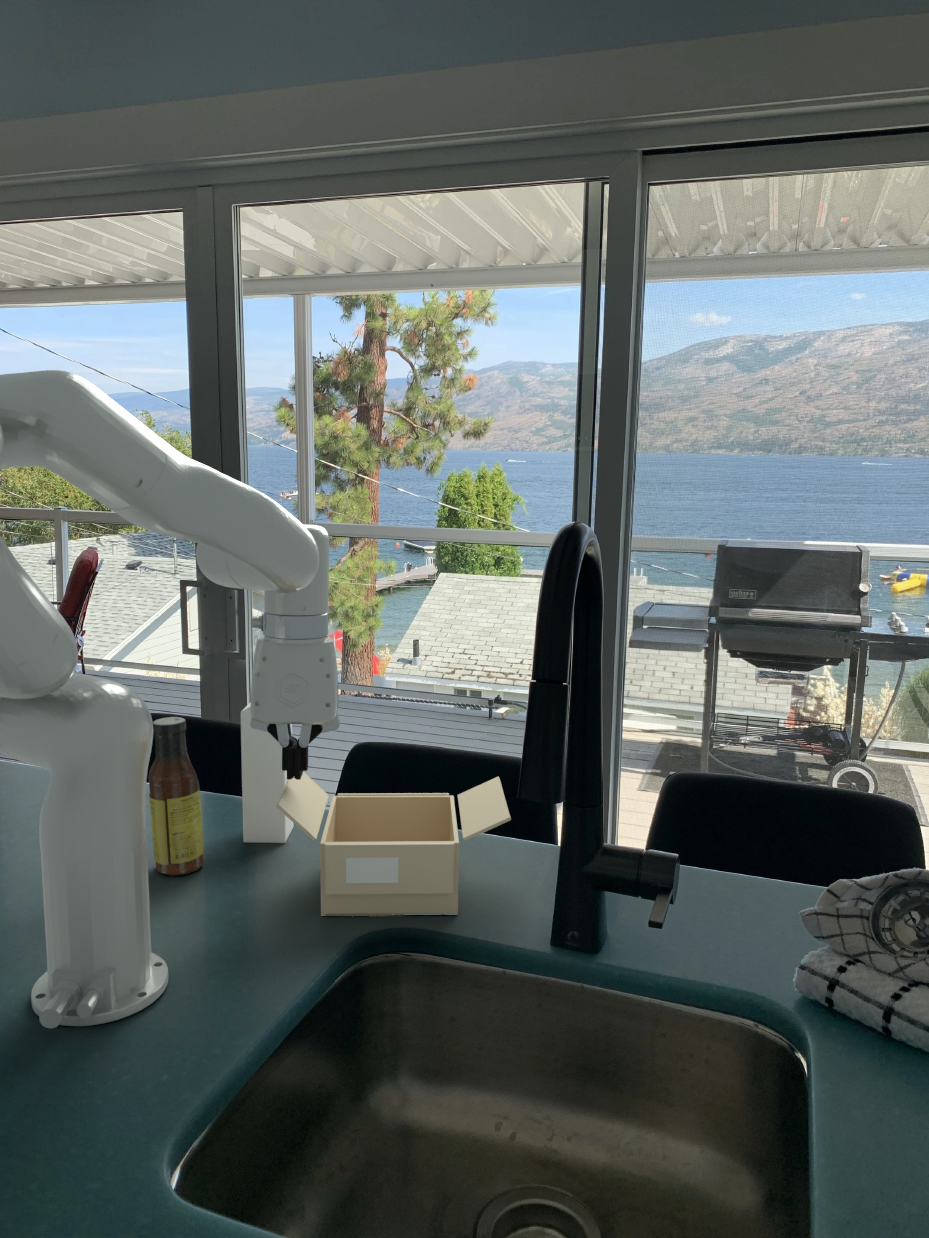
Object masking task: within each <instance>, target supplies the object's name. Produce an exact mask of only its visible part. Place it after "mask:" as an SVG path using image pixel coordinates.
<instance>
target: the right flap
mask: <svg viewBox="0 0 929 1238" xmlns="http://www.w3.org/2000/svg"><path fill="white" fill-rule="evenodd" d="M504 793H505V792H504V789H503V786H502V782H501V778H500V777H499V776H496V777H494V778H492V779H490V780H487V781H485V782H483V783H481V784H479V785H476V786H474V787H472V788H470V789H467V790H466V791H463V792H461V793H459V794H457V802H458V808H459V816H460V818H459V819H460V825H461V826H460V827H461V832H462V839H463V841H464V842H466V841H468V840H470V839H472V838H473V839H474V837H477V836H479V835H481V834H483V833H486V832H488V831H490V830H492V829H495V828H498V826H499V827H500V826H501V825H503V824H505V823H508V822H510V821H511V820H512V817H511V814H510V811H509V807H508V804H507V800H506V797H505V794H504Z"/></svg>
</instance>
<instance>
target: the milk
mask: <svg viewBox="0 0 929 1238" xmlns="http://www.w3.org/2000/svg"><path fill="white" fill-rule="evenodd" d="M251 718H252V716H251V701H250V702H249V703H248V704H247V705H246V706H245V707H244V708H243V709H242V710H241V711H240V746H241V747H240V748H241V750H240V753H241V788H242V789H241V791H242V793H241V795H242V797H241V799H242V800H241V801H242V834H243V835H242V838H243V843H251V844H252V843H253V844H254V843H256V844H257V843H259V844H263V843H264V844H267V843H268V844H270V843H271V844H286V843H287V841H288V839H289V837H290V834H291V833H292V831H293V829H294V823H293V822H292V821H291V820H290V819H289V818H288V817H287V816H286V815H284V814H283V813H282V812H281V811H280V810H279V809H278V808H277V807H276V806H277V804H278V801H279V799H280V797H281V794H282V792H283V790H284V788H285V785H286V783H287V781H288V779H287V771H282V747H281V746H280V745H279V742H278V741H277V740H276V739H275V738H274V737H273V736H272V735H271V734H270V733H269V732H266V731H261V730H257V729H253V728H251V726H250V722H251ZM290 726H291V733H292V734H293V724H290Z"/></svg>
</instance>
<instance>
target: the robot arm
mask: <svg viewBox="0 0 929 1238" xmlns="http://www.w3.org/2000/svg"><path fill="white" fill-rule="evenodd" d="M13 467H14V468H15V467H42V468H45V469H46V470H49V471H51V472H53V473H55V474H56V475H58V476H59V477H60V478H62V479H64V480H65V481H67V482H68V483H69V484H71V485H73V486H74V487H76V488H77V489H79V490H80V491H82V492H84V494H86V495H88V496H90V497H91V498H93V499H94V500H96V501H97V502H99V504H102V505H103V506H104V507H106V508H108V509H109V510H110V511H112V512H113V513H115V514H117V515H118V516H119V517H121V518H122V519H124V520H125V521H127V522H128V523H130V524H132V525H135V526H137V527H140V528H142V529H145V530H147V531H151V532H153V533H156V534H159V535H162V536H165V537H170V538H175V539H179V540H184V541H187V542H193V543H196V550H195V557H196V558H195V560H196V562H197V566H198V568H199V570H200V572H201V574H203V575H204V577H206V578H207V579H208V580H210V581H211V582H212V583H214V584H216V585H219V586H222V587H226V588H232V589H240V590H250V591H252V590H255V591H264V604H263V605H264V609H263V611H264V612H263V613H262V614H261V615H259V616H252V618H251V628H252V629H258V630H261V632H262V635H263V636H262V637H259V638H258V639H256V645H255V648H254V655H253V661H252V662H253V663H252V674H251V684H250V685H251V687H250V690H251V691H250V702H251V716H252V718H251V722H250V726H251V728H253V729H257V730H261V731H266V732H269V733H270V734H271V735H272V736H273V737H274V738H275V739H276V740H277V741H278V742H279V745H280V746H281V747H282V771H287V779H292V778H293V777H294V778H296V780H300V779H301V777H302V774H303V772H307V771H308V770H309V769H308V768H309V744H311V743H312V742H313V741H314V740H315V739H316V738H317V737H318V736H319V735H321V734H323V733H328V732H332V731H333V732H334V731H338V730H339V728H340V726H341V721H340V717H339V712H338V708H339V676H338V674H339V673H338V661H337V660H338V659H337V653H336V648H335V643H334V639H333V638H332V637H329V582H330V581H329V576H330V570H329V569H330V568H329V567H330V540H329V539H330V537H329V534H328V533H329V532H328V531H327V529H326V528H325V527H324V526H321V525H318V524H310V523H302V522H301V521H300V520H299V519H298V518H296V517H295V516H294V515H293V514H291V512H289V511H288V510H287V509H286V508H284V507H283V505H281V504H279V503H278V502H277V501H275V500H274V499H272V498H271V497H269V496H268V495H266V494H265V493H263V492H262V491H259V490H257V489H256V488H254V487H252V486H250V485H248V484H246V483H244V482H242V481H240V480H237V479H235V478H233V477H231V476H230V475H227V474H225V473H222V472H220V471H219V470H217V469H214V468H213V467H211V466H209V465H206V464H204V463H202V462H199V461H197V460H195V459H192V458H191V457H188V456H187V455H185V454H183V453H182V452H180V451H179V450H178V449H176V448H175V447H173V446H172V445H171V444H170V443H169V442H167V441H166V440H165V439H164V438H163V437H161V436H159V435H158V434H157V433H155V431H153V430H152V429H150V428H149V427H148V426H147V425H145V424H144V423H143V422H142V421H140V420H139V419H138V418H137V417H135V415H133V414H131V412H129V411H128V410H127V409H126V408H124V407H123V406H122V405H120V404H119V403H118V402H117V401H115V399H113V398H111V396H109V395H108V394H106V393H105V392H104V391H102V389H100V388H99V387H98V386H96V385H95V384H93V383H92V382H90V381H89V380H87V379H86V378H85V377H82V376H79V375H78V374H76V373H74V372H70V371H66V370H59V369H56V370H55V369H54V370H53V369H51V370H49V369H48V370H47V369H46V370H36V371H27V372H26V371H25V372H14V373H3V374H0V471H1V470H3V469H8V468H13ZM78 653H79V651H78V644H77V640H76V637H75V634H74V633H73V631H72V629H71V627H70V625H69V623H68V622H67V621H66V619H65V618H64V617H63V615H62V614H61V613H60V611H59V610H58V609H57V608H56V607H55V606H54V604H53V603H52V602H51V601H50V599H49V598H48V597H47V595H46V594H45V593H44V592H43V591H42V590H41V588H40V587H39V586H38V585H37V583H36V582H35V581H34V580H33V578H32V577H31V576H30V575H29V573H28V572H27V571H26V570H25V568H24V567H23V566H22V565H21V564H20V563H19V561H18V560H17V559H16V557H15V556H14V554H13V553H12V551H11V549H10V548H9V547H8V545H7V544H6V542H5V541H4V539H3V537H2V536H1V535H0V753H2V754H3V755H5V756H7V757H9V758H11V759H14V760H16V761H19V762H22V763H26V764H29V765H33V766H35V767H38V768H42V769H43V770H45V771H49V776H50V777H49V784H48V787H47V789H46V793H45V797H44V799H43V802H42V805H41V809H40V814H39V824H38V825H39V828H38V832H39V850H40V864H41V866H40V867H41V876H42V877H41V878H42V879H41V882H42V897H43V898H42V899H43V913H44V914H43V915H44V931H45V932H44V933H45V947H46V948H45V949H46V966H47V967H46V968H47V969H46V971H45V972H44V973H43V974H42V975H41V976H40V977H39V978H38V979H37V981H36V982H35V983H34V984H33V986H32V989H31V991H30V992H31V995H30V998H31V1008H32V1010H33V1012H34V1013H35V1014H36V1015H37V1016H38V1018H39V1020H38V1021H39V1023H40V1024H41V1026H42V1027H44V1028H46V1029H55V1028H58V1026H66V1027H90V1026H95V1025H103V1024H107V1023H112V1022H115V1021H119V1020H121V1019H124V1018H126V1017H127V1018H128V1017H129V1016H132V1015H134V1014H136V1013H138V1012H140V1011H142V1010H144V1009H146V1008H147V1007H148V1006H150V1005H151V1004H153V1003H154V1002H155V1001H156V1000H157V999H159V998H160V996H161V995H162V994H163V993H164V991H165V990H166V989H167V986H168V984H169V967H168V964H167V963H166V961H165V960H164V959H163V958H162V957H160V956H159V955H158V954H156V953H154V952H152V942H151V941H152V940H151V939H152V938H151V936H152V935H151V916H150V915H151V914H150V913H151V912H150V887H149V886H150V885H149V883H150V882H149V863H148V860H149V859H148V839H147V838H148V835H147V814H146V813H147V811H146V810H147V809H146V806H147V805H146V803H147V801H146V799H147V797H146V795H147V782H148V781H147V779H148V770H149V763H150V759H151V758H150V757H151V753H152V747H153V740H154V733H153V722H154V721H153V718H152V713H151V712H150V709H149V707H148V705H147V703H146V702H145V701H144V700H143V698H142V697H141V696H140V695H139V694H138V693H136V692H135V691H134V690H132V688H130V687H128V686H126V685H124V684H122V683H119V682H117V681H114V680H111V679H108V678H105V677H99V676H94V675H89V674H84V673H79V672H78V673H77V672H75V671H76V668H77V666H78V661H79V654H78ZM290 724H292V725H301V727H300V731H299V738H298V739H297V740H296V742H295V738H294V736H293V732H292V733H291V726H290Z"/></svg>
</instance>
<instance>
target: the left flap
mask: <svg viewBox="0 0 929 1238" xmlns="http://www.w3.org/2000/svg"><path fill="white" fill-rule="evenodd" d="M329 796H330V795H329V794H328V793H327V792H326V791H325V790H324V789H323V788H322V787H320V786H319V785H318V784H317V783H316V782H315V781H314V780H313V779H312V778H311V777H309V775H308V774H307V773H305V771H303V774H302V777H301V779H300V780H296V778H294V777H293V778H292V779H288V781H287V783H286V785H285V788H284V790H283V792H282V794H281V797H280V799H279V801H278V804H277V806H276V807H277V808H278V809H279V810H280V811H281V812H282V813H283V814H284V815H286V816H287V817H288V818H289V819H290V820H291V821H292V822H293V823H294V824H295V826H296V827H298V828H299V830H301V831H302V832H303V833H304V834H305V835H307V837H308V838H310V839H311V840H312V841H313V842H315V841H317V839H318V835H319V831H320V828H321V824H322V821H323V817H324V814H325V810H326V807H327V803H328V799H329Z"/></svg>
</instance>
